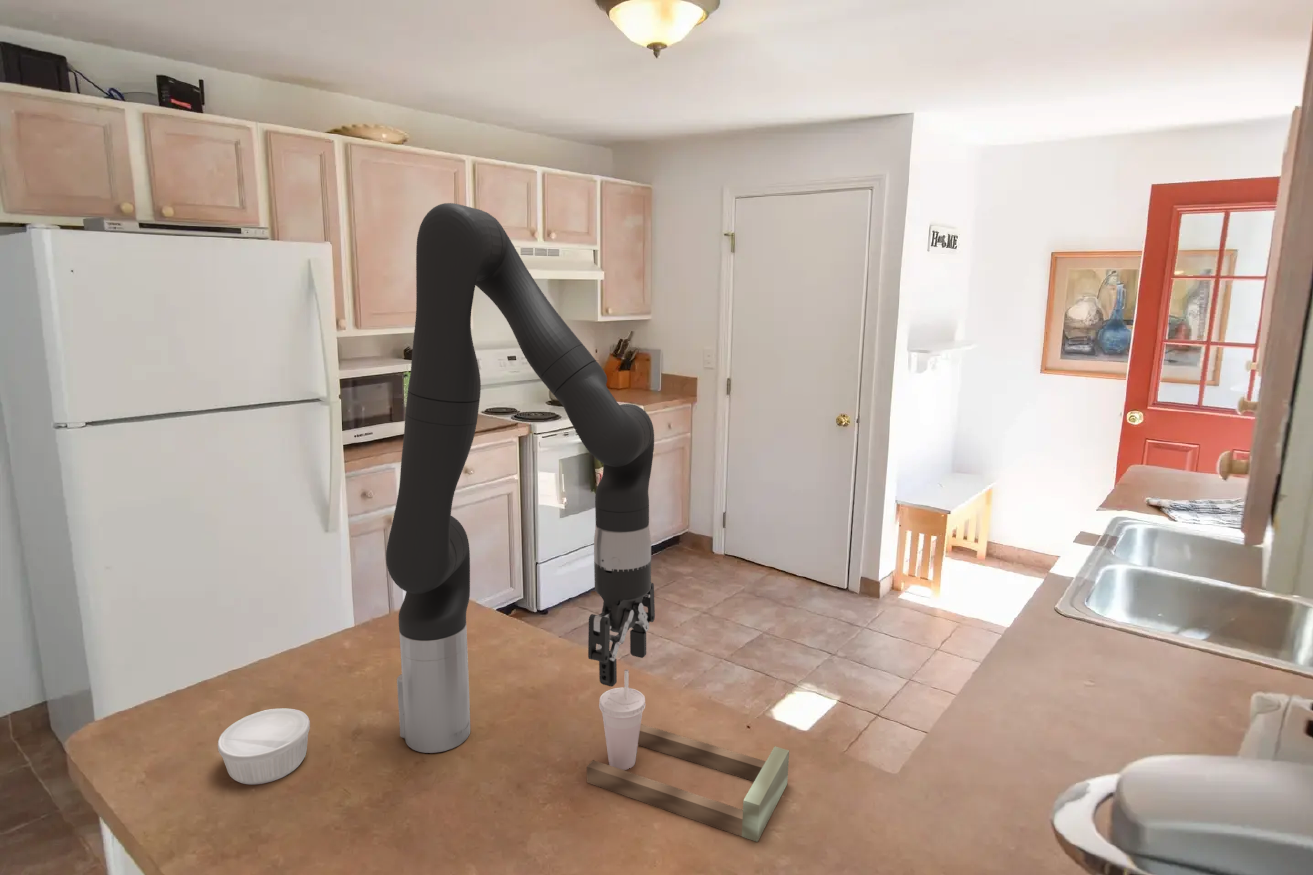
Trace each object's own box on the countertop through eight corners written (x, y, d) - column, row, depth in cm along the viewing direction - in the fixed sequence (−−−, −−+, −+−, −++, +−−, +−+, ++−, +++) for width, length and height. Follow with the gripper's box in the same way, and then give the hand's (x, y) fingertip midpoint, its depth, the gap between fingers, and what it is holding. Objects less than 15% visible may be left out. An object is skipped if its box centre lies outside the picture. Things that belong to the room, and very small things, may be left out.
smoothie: (639, 779, 102) (640, 684, 100) (593, 772, 104) (593, 678, 101) (649, 751, 109) (650, 661, 106) (605, 745, 110) (606, 656, 107)
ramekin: (219, 800, 97) (215, 764, 96) (222, 753, 107) (219, 719, 106) (315, 776, 102) (312, 741, 101) (309, 732, 112) (307, 700, 111)
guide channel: (586, 782, 102) (586, 748, 101) (630, 735, 112) (630, 704, 111) (757, 841, 91) (759, 805, 90) (787, 783, 102) (789, 750, 101)
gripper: (623, 536, 108) (624, 642, 111) (569, 570, 96) (572, 687, 99) (671, 544, 105) (670, 653, 108) (621, 580, 92) (622, 701, 96)
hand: (623, 669), depth 103 cm, fingers open, 8 cm apart
